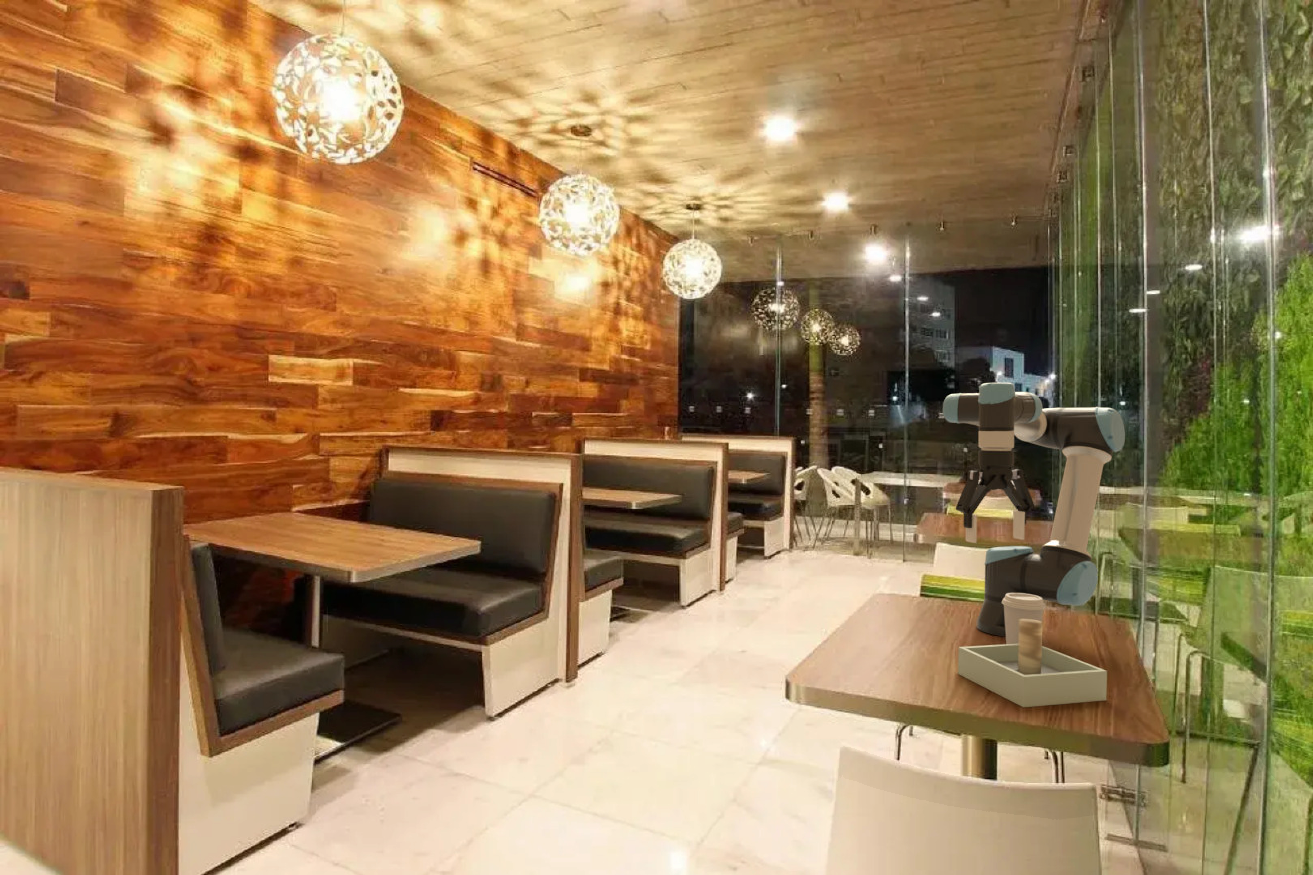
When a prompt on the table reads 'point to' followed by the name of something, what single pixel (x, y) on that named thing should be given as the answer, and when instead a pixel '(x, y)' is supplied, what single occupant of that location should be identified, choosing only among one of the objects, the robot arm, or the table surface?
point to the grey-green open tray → (1032, 676)
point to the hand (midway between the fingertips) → (995, 540)
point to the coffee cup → (1020, 612)
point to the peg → (1030, 646)
